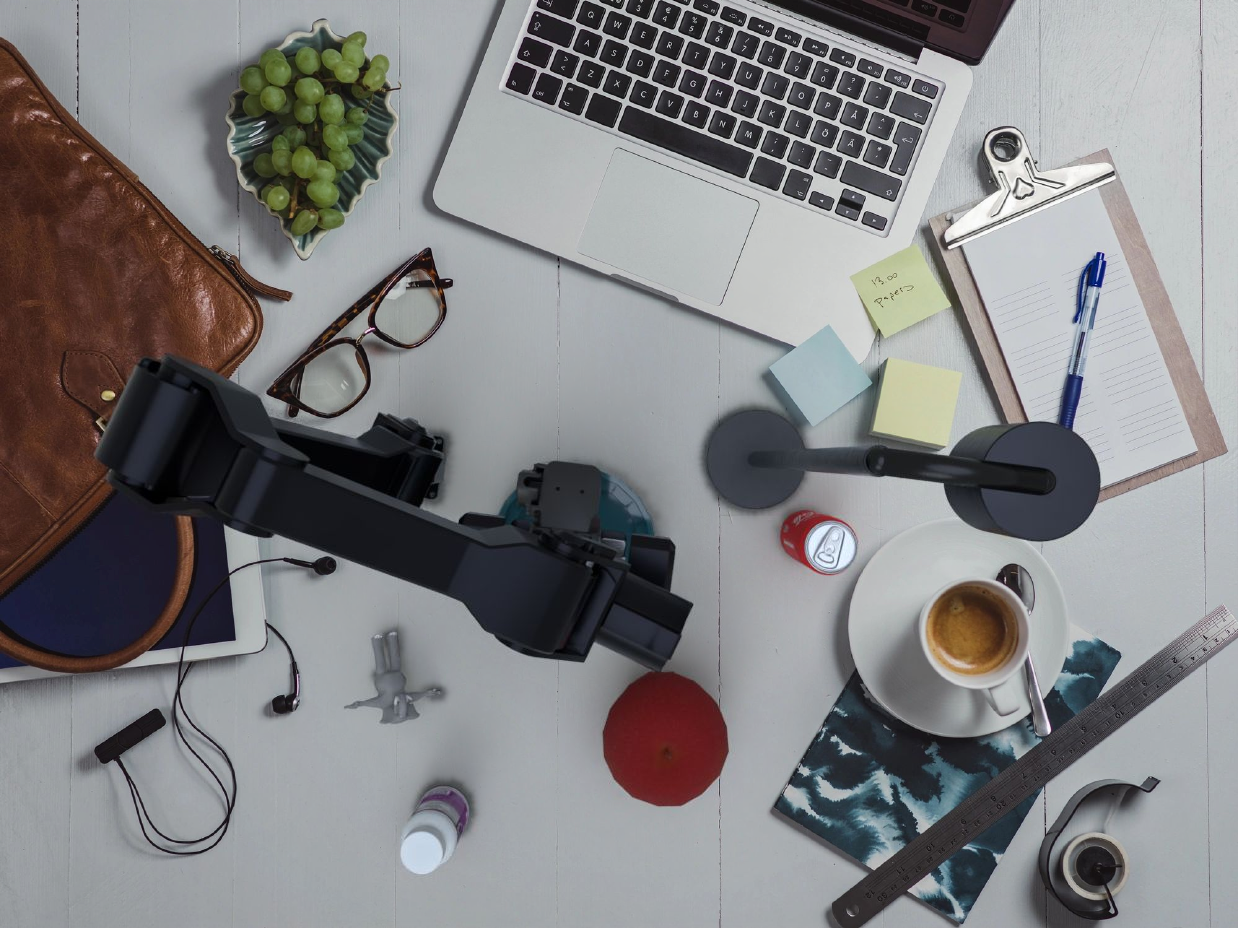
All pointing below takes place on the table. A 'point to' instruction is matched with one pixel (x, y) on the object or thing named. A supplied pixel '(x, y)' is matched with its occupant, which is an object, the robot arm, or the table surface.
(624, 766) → the apple
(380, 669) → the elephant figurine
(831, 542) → the beverage can
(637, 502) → the bowl
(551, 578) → the robot arm
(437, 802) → the pill bottle
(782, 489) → the desk lamp
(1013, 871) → the table surface
